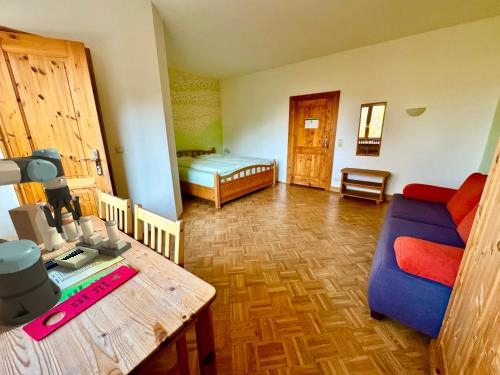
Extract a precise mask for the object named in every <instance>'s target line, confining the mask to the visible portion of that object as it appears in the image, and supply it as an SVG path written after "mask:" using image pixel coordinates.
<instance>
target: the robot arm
mask: <svg viewBox="0 0 500 375" xmlns="http://www.w3.org/2000/svg"><path fill="white" fill-rule="evenodd" d="M28 183H29V184H31V183H39V184H41V185H42V188H44V189H43V190H44V193H45V197H46V199H47V202H46V203H45V205H43V206H40V208H41V209H42V210H43V211H44V214H45V217H46V220H47V222H48V225H49V227H54V228H55V227H56V230H57V233H59V234H60V235H61V237H62V239H63V240H65V241H66V240H67V239H68V237H67V233H66V230H65V227H64V226H63V225H62V224H61V213H62V211H63V208H65V209H66V212H72V216H73V220H74V223H75V227H76V230H77V234H78V235H79V234H80V235H81V231H80V230H81V229H80V227H81V226H80V222H79V220H80V218H81V217H84V216H83V212H82V207H81V203H80V196H79V195H72V194H71V191H70V187H69V185H68V181H67V176H66V173H65V171H64V166H63V163H62V158H61V155H60V153H59V151H58V150H57V149H56V148H38V149H33V150H31V155H28V156H19V157H8V158H7V157H6V158H0V187H2V186H9V185H21V184H28ZM71 202H72V204H71ZM51 207H52V210H51ZM52 211H53V212H52ZM52 213H53V214H54V218H53V215H52ZM41 253H42V252H41V249H40V247H39V245H37V244H36V243H35V242H33V241H31V240H19V239H15V240H6V239H4V238H0V325H2V326H4V327H5V326H6V327H12V326H14V327H15V326H19V325H22V324H25V323H27V322H30V321H33V320H34V319H36V318H39V317H40V316H42V315H44V314H45V313H47V312H48V311H49V310H51V309H52V308H54V307H55V306H56V305H57V304H58V303H59V302H60V300H61V299H62V296H63V292H62V288H61V287H60V286H59V285H58V283H56V282H55V281H53V279H51V278H50V276H49V273H48V270H47V268H46V265H45V262H44V258H43V256H42V254H41Z"/></svg>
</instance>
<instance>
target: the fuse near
mask: <svg viewBox="0 0 500 375" xmlns="http://www.w3.org/2000/svg"><path fill="white" fill-rule="evenodd" d="M104 226H105V229H106V234H107V237H108V238H109V242H110V248H112V249H114V248H116V246H115V242H117V241H119V240H120V239H121V238H120V233H119V229H118V224H117V220H116V219H110V220H107V221H105V222H104Z"/></svg>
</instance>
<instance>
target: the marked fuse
mask: <svg viewBox="0 0 500 375" xmlns="http://www.w3.org/2000/svg"><path fill="white" fill-rule="evenodd" d="M61 224H62V225H63V226H64V227H65V230H66V233H67V237H68V239H67V240H65V243H67V244H70V243H71V244H72V243H75V242H76V241H78V240H79V234H77V230H76V227H75V223H74V220H73V216H72V212H68V211H65V212H61Z"/></svg>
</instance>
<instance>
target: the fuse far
mask: <svg viewBox="0 0 500 375" xmlns="http://www.w3.org/2000/svg"><path fill="white" fill-rule="evenodd" d="M79 223H80V226H79V227H80V230H81V232H82V233H81V234H83V236H84V241H85V243H90V242H89V237H91V236H93V235H95V232H94V227H93V224H92V220H91V216H89V215H85V216H82V217H80V220H79Z"/></svg>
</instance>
